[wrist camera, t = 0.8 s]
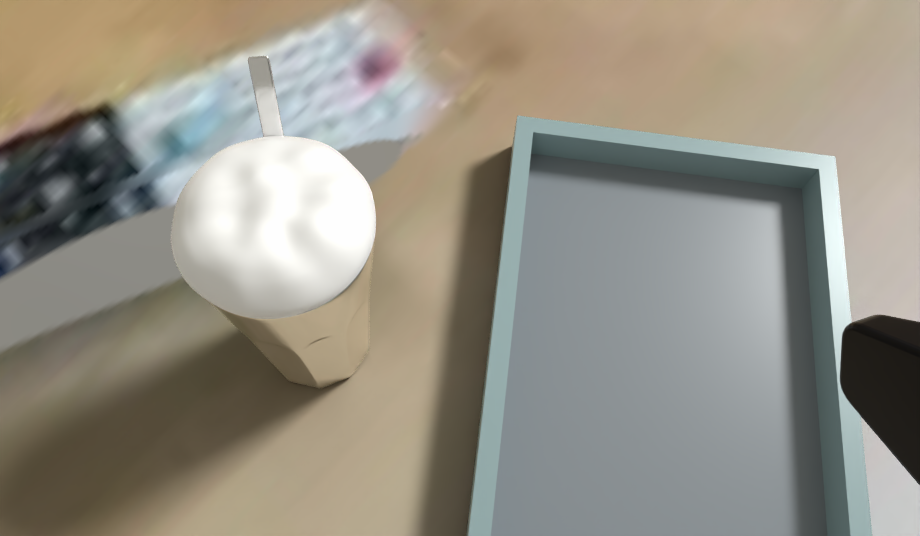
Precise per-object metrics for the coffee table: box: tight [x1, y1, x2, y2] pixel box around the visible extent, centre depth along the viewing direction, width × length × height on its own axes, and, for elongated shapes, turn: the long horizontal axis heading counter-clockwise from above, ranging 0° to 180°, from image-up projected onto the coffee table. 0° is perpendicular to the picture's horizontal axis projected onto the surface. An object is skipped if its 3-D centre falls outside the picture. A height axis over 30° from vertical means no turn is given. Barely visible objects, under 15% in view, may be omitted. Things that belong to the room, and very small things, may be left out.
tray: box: [466, 116, 872, 536], centre depth 23 cm, size 16×11×2 cm
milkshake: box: [171, 56, 376, 388], centre depth 20 cm, size 4×5×10 cm
